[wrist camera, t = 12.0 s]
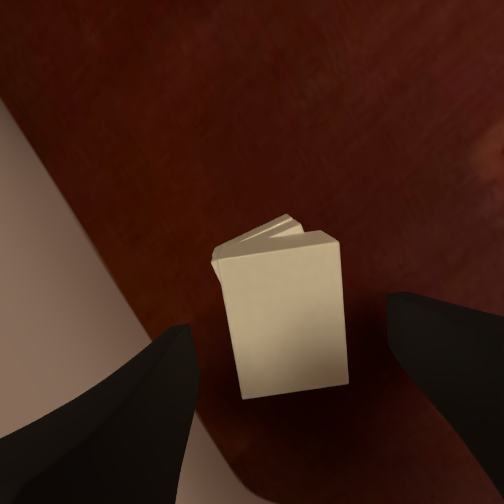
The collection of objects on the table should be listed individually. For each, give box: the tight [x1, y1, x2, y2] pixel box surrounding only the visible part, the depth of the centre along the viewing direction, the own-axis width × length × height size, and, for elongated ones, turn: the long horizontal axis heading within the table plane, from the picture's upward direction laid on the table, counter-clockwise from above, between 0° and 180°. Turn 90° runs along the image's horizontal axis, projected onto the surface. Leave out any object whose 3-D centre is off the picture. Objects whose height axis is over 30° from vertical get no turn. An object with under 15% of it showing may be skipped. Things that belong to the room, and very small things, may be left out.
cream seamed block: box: [211, 214, 304, 283], centre depth 15 cm, size 6×4×3 cm
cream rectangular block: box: [217, 230, 349, 399], centre depth 12 cm, size 6×4×2 cm
